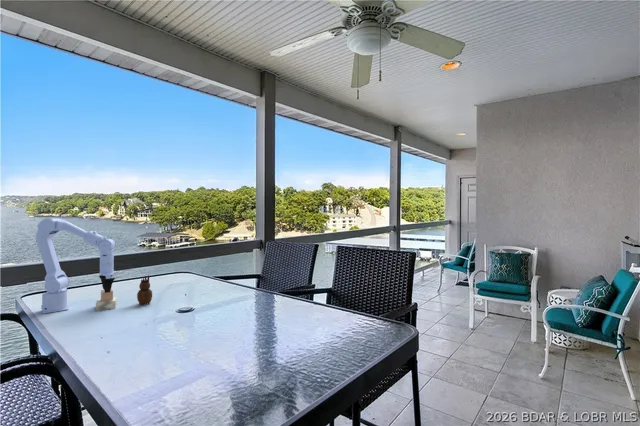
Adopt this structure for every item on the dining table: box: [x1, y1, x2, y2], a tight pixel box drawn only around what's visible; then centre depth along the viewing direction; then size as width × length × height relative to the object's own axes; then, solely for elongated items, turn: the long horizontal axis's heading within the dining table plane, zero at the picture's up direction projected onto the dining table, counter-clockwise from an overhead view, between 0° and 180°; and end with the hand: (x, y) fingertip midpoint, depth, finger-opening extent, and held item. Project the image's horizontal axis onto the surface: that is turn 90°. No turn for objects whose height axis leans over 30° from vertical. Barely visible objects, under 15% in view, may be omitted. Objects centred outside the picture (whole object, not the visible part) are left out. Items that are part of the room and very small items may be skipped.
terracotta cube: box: [100, 288, 114, 302], centre depth 161 cm, size 4×4×4 cm
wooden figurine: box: [136, 274, 153, 306], centre depth 167 cm, size 7×6×15 cm
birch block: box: [95, 296, 118, 311], centre depth 161 cm, size 8×8×4 cm
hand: (106, 290), depth 161 cm, fingers open, 7 cm apart
